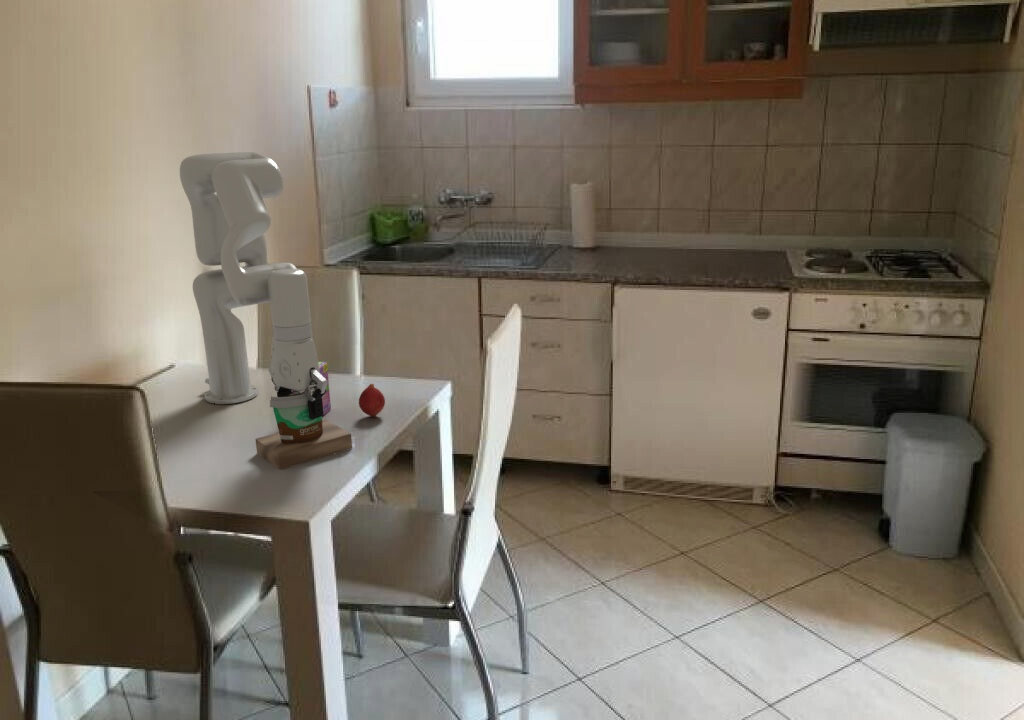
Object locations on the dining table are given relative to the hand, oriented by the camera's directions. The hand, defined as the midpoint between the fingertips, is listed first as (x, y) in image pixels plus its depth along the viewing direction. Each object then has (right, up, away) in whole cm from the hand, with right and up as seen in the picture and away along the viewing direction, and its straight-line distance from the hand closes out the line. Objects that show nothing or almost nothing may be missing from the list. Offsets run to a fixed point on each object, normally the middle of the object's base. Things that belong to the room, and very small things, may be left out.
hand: (301, 412), depth 173 cm
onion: (+11, -2, +21) cm, 24 cm away
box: (-3, -2, +22) cm, 22 cm away
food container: (+2, -5, 0) cm, 5 cm away
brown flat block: (0, -9, +3) cm, 9 cm away
